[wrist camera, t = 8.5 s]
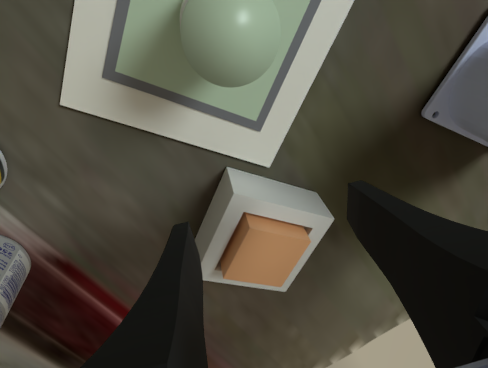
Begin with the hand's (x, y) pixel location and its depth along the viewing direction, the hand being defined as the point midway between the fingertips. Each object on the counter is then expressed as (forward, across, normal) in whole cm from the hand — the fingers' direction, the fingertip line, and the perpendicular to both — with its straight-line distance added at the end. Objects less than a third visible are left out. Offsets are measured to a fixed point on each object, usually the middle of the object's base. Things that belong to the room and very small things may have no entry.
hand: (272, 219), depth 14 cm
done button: (+7, 0, +8) cm, 11 cm away
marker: (+9, 0, -7) cm, 11 cm away
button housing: (+9, 0, +8) cm, 12 cm away
